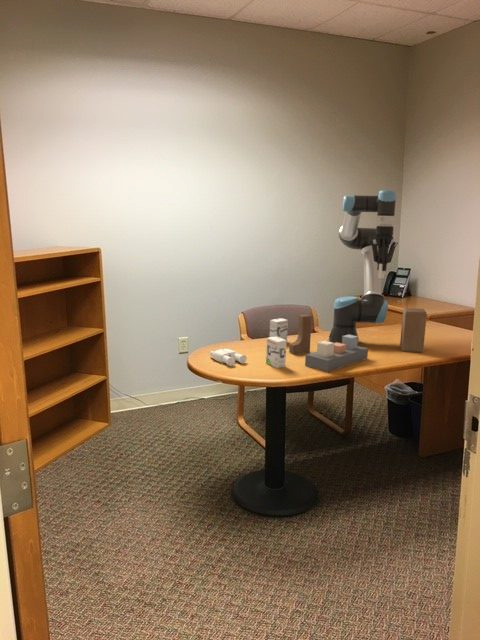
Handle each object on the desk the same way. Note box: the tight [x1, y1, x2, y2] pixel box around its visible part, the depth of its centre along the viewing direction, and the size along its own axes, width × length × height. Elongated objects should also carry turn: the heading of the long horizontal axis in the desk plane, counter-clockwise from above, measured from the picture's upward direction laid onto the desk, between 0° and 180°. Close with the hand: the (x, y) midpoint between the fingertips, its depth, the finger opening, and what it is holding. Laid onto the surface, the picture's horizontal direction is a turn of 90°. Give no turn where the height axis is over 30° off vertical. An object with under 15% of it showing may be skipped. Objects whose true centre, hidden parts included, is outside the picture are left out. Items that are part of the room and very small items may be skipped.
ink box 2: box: [265, 336, 287, 369], centre depth 221 cm, size 9×5×12 cm, turn 32°
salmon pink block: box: [334, 342, 346, 354], centre depth 227 cm, size 5×5×7 cm
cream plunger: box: [316, 340, 334, 358], centre depth 220 cm, size 5×5×7 cm
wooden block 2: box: [399, 307, 428, 353], centre depth 249 cm, size 10×10×20 cm
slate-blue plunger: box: [342, 335, 359, 350], centre depth 232 cm, size 5×5×7 cm
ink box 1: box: [269, 317, 289, 343], centre depth 260 cm, size 9×5×12 cm, turn 131°
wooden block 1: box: [288, 314, 312, 356], centre depth 240 cm, size 9×4×18 cm, turn 112°
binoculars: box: [209, 348, 247, 367], centre depth 227 cm, size 10×16×5 cm, turn 36°
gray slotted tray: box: [304, 345, 369, 373], centre depth 227 cm, size 12×30×5 cm, turn 133°
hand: (381, 277), depth 234 cm, fingers closed
